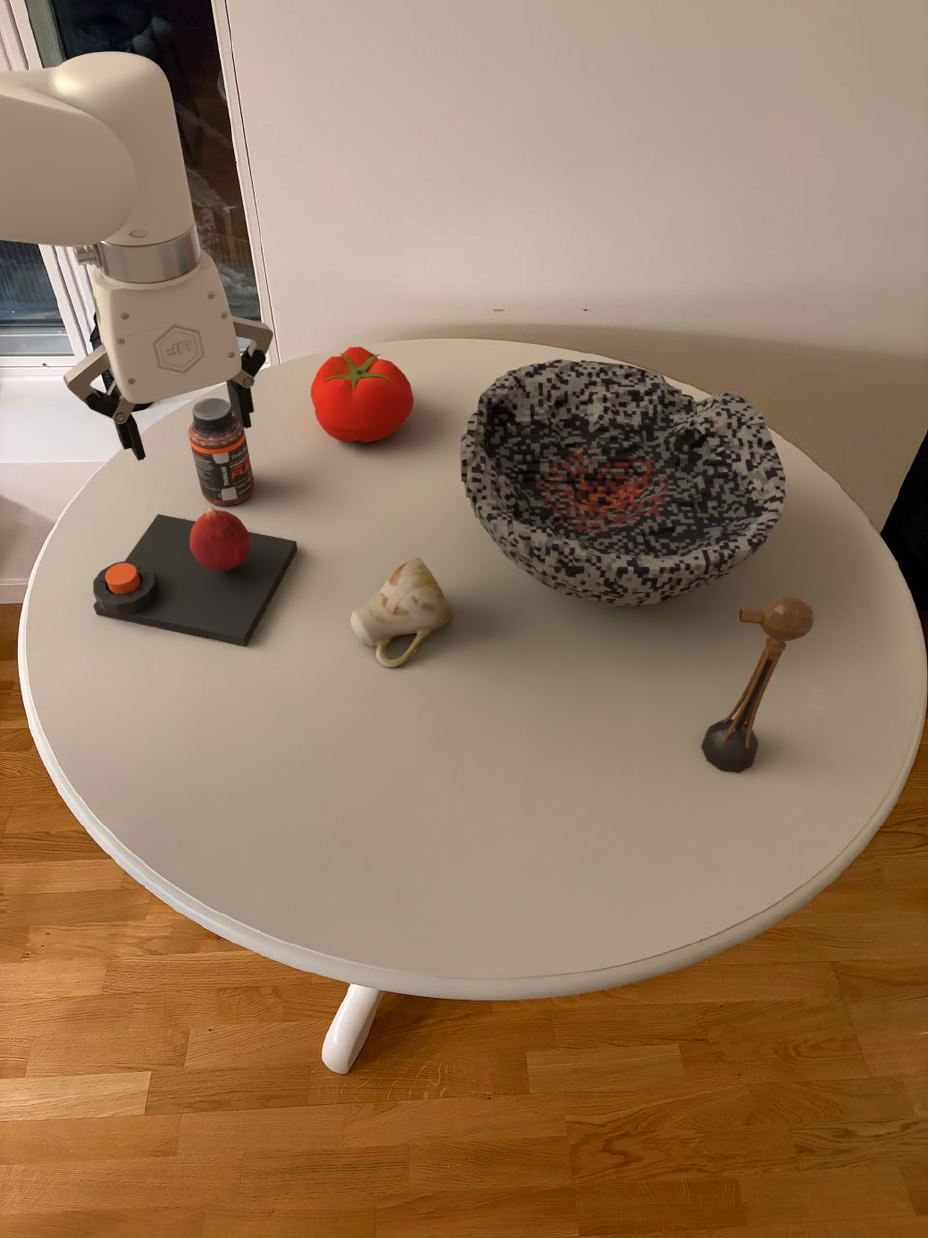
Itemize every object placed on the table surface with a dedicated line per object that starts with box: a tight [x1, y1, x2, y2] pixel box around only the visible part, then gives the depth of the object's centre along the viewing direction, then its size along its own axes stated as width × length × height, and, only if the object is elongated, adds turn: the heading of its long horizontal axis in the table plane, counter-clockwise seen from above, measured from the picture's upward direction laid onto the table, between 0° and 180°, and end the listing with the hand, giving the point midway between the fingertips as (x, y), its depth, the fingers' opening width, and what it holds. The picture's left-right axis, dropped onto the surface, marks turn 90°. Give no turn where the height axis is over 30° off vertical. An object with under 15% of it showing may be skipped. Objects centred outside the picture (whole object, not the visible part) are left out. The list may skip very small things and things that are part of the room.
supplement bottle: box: [187, 397, 255, 506], centre depth 99 cm, size 6×6×11 cm
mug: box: [349, 557, 455, 668], centre depth 88 cm, size 8×10×10 cm
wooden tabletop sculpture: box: [700, 596, 816, 774], centre depth 74 cm, size 6×5×20 cm
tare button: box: [105, 563, 140, 595], centre depth 89 cm, size 3×3×2 cm
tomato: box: [310, 346, 415, 443], centre depth 108 cm, size 13×12×8 cm
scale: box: [92, 513, 299, 648], centre depth 92 cm, size 16×14×3 cm
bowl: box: [460, 358, 787, 607], centre depth 92 cm, size 31×31×15 cm
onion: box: [190, 506, 250, 571], centre depth 90 cm, size 6×6×8 cm
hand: (190, 435), depth 80 cm, fingers open, 9 cm apart
